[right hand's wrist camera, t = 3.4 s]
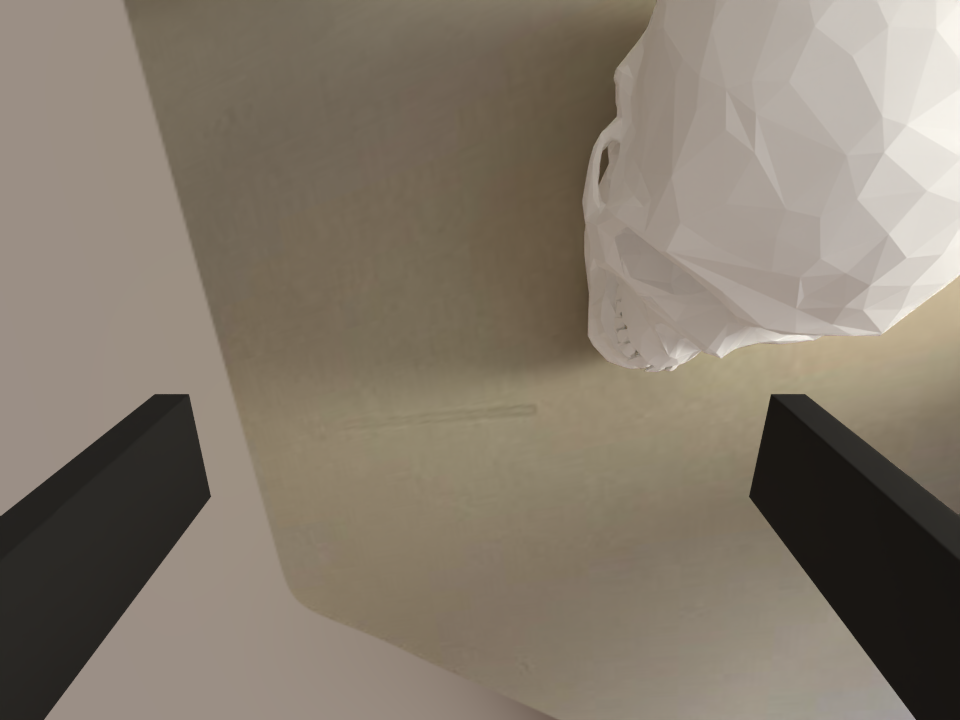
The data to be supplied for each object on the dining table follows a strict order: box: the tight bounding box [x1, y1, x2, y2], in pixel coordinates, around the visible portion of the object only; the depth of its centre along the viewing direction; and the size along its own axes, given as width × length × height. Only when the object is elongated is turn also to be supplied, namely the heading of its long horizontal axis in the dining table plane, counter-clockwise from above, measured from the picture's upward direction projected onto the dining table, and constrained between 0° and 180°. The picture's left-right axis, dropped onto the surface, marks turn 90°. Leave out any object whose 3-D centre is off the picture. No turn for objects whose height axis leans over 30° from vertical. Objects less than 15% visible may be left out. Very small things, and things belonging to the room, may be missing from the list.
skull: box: [582, 0, 960, 372], centre depth 22 cm, size 13×22×16 cm, turn 164°
